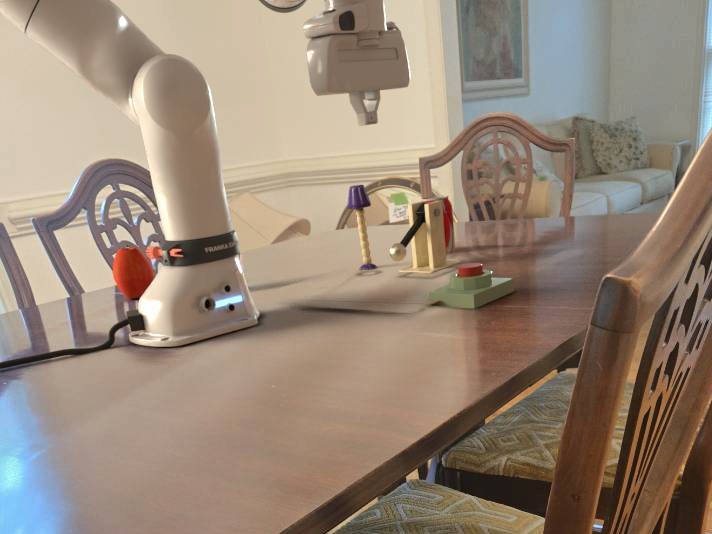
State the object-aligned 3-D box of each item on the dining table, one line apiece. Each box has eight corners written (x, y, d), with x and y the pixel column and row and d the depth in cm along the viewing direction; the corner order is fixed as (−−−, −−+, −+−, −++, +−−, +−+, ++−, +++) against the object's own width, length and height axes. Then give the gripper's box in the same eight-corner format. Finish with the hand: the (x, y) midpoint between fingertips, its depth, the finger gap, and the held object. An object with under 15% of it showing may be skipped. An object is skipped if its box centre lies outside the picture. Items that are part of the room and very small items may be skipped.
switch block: (474, 308, 122) (473, 283, 120) (429, 305, 127) (427, 280, 125) (513, 291, 130) (513, 267, 128) (469, 289, 135) (468, 265, 133)
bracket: (431, 278, 148) (425, 206, 141) (399, 276, 152) (392, 207, 146) (461, 267, 154) (456, 198, 148) (429, 266, 159) (423, 199, 152)
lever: (403, 265, 144) (397, 251, 142) (390, 264, 146) (383, 251, 143) (438, 214, 148) (432, 200, 146) (425, 215, 150) (419, 200, 148)
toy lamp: (353, 276, 158) (341, 187, 150) (361, 271, 162) (349, 184, 154) (375, 274, 157) (364, 185, 148) (382, 270, 160) (372, 182, 152)
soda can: (421, 261, 165) (415, 200, 159) (425, 255, 171) (420, 197, 165) (453, 258, 163) (449, 197, 157) (457, 253, 169) (453, 193, 163)
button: (474, 279, 124) (473, 268, 124) (453, 278, 127) (453, 267, 126) (487, 274, 127) (487, 263, 126) (467, 273, 129) (466, 262, 128)
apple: (129, 304, 157) (114, 248, 151) (113, 300, 162) (98, 246, 157) (166, 295, 161) (152, 241, 156) (149, 291, 167) (136, 239, 161)
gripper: (383, 24, 125) (393, 121, 131) (294, 24, 111) (310, 132, 118) (414, 18, 121) (422, 117, 128) (326, 17, 108) (340, 129, 114)
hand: (368, 125), depth 123 cm, fingers closed
